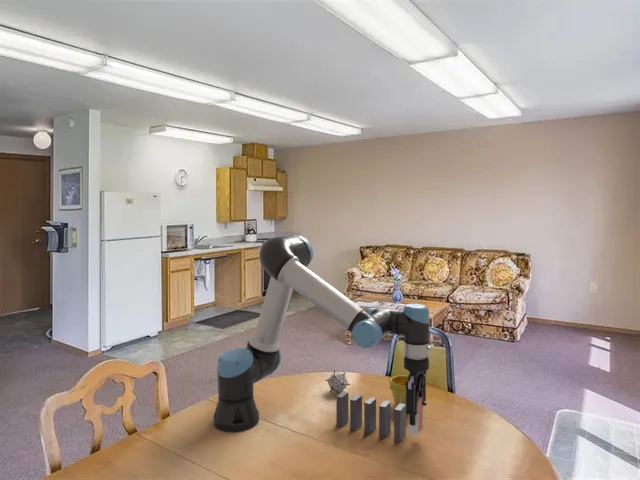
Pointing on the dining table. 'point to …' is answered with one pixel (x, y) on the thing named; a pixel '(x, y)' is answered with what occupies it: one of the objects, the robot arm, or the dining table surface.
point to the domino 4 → (384, 418)
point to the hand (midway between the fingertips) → (416, 429)
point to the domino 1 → (342, 409)
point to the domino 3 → (370, 415)
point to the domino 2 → (355, 412)
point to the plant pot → (399, 389)
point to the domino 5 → (399, 422)
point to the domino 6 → (419, 413)
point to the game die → (337, 382)
